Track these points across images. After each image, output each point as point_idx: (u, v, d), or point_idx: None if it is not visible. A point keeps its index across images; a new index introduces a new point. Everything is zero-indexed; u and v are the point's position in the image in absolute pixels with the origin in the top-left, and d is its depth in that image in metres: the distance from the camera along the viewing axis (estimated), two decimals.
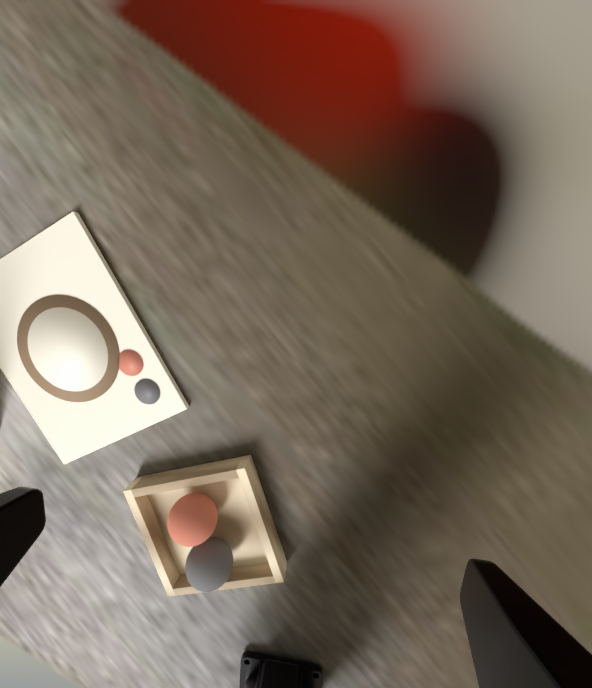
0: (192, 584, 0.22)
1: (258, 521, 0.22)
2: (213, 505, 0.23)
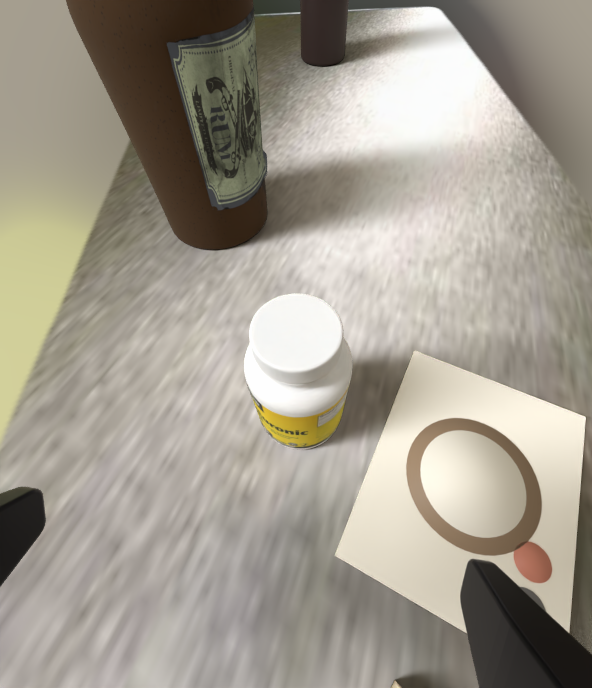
0: None
1: None
2: None
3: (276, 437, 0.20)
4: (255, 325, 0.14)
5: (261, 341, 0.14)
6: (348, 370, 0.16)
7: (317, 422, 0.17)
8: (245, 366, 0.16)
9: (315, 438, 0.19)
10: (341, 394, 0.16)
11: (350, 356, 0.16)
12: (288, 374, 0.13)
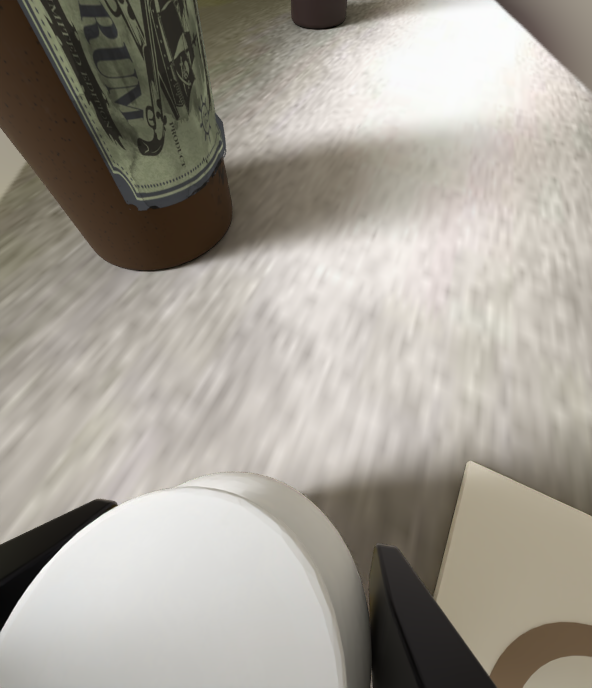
0: None
1: None
2: None
3: None
4: (6, 655, 0.04)
5: None
6: None
7: None
8: None
9: None
10: None
11: (366, 630, 0.06)
12: None
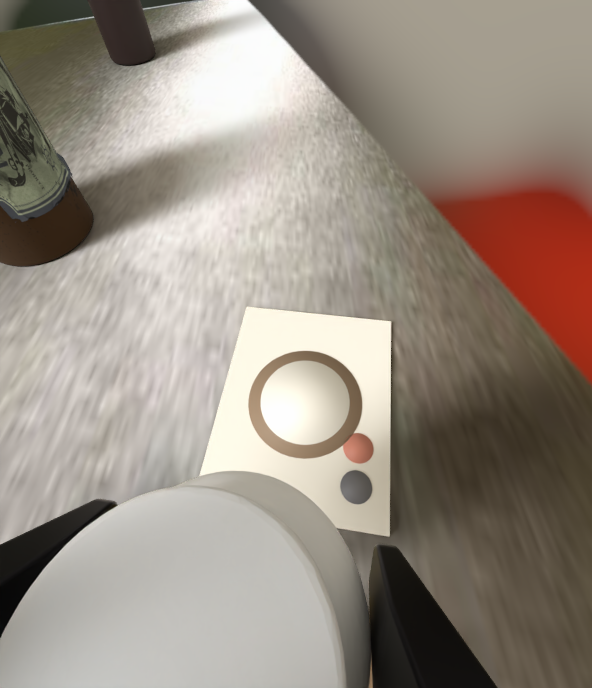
0: None
1: None
2: None
3: None
4: (11, 651, 0.04)
5: None
6: None
7: None
8: None
9: None
10: None
11: (365, 627, 0.06)
12: None
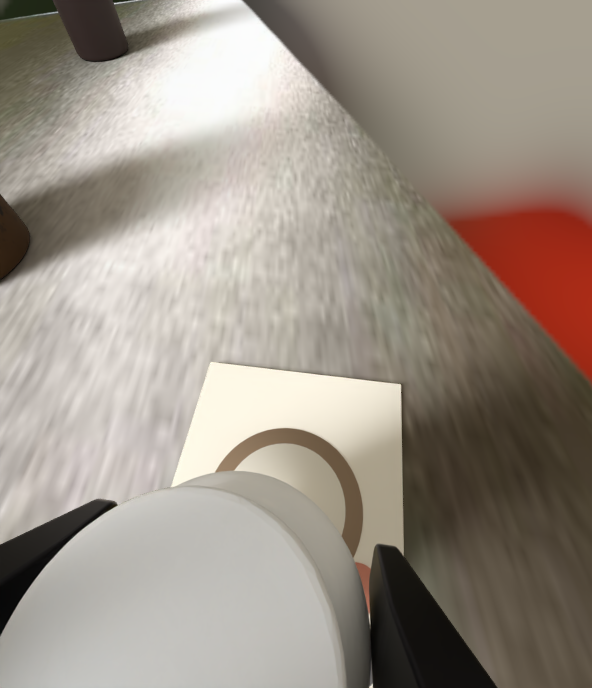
0: None
1: None
2: None
3: None
4: (10, 653, 0.04)
5: None
6: None
7: None
8: None
9: None
10: None
11: (365, 627, 0.06)
12: None
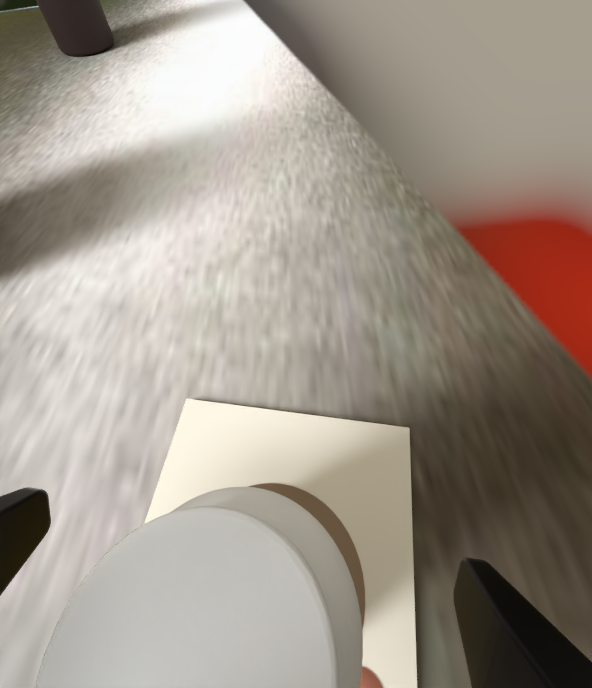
0: None
1: None
2: None
3: None
4: (62, 647, 0.05)
5: None
6: (354, 685, 0.06)
7: None
8: None
9: None
10: None
11: (357, 628, 0.06)
12: None
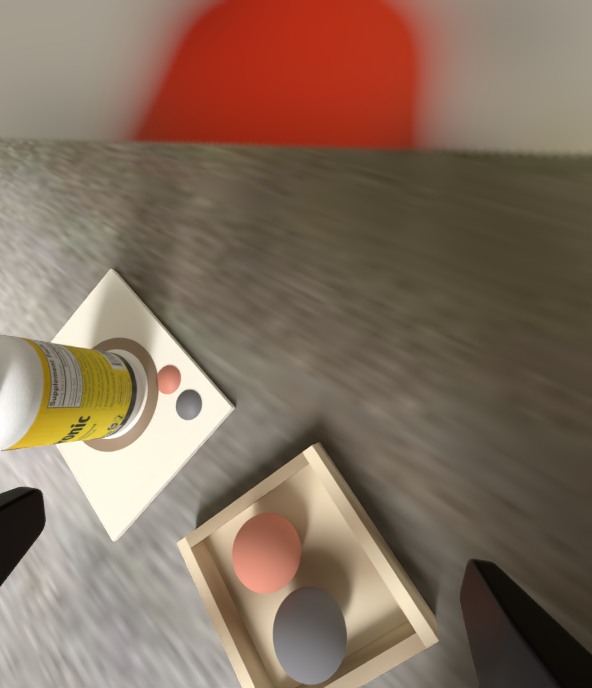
0: (287, 665, 0.13)
1: (356, 526, 0.15)
2: (289, 522, 0.16)
3: (97, 436, 0.20)
4: None
5: None
6: (16, 356, 0.15)
7: (66, 407, 0.16)
8: None
9: (111, 407, 0.19)
10: (34, 377, 0.15)
11: (11, 344, 0.15)
12: None
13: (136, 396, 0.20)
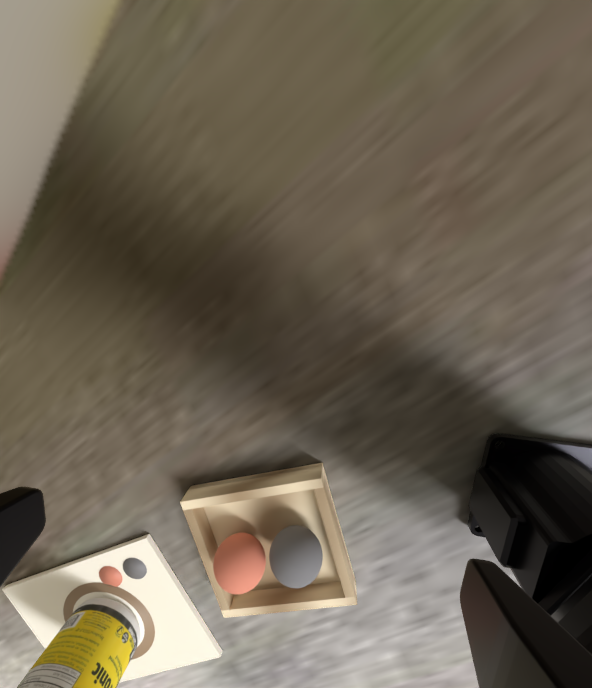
0: (297, 586, 0.19)
1: (241, 496, 0.20)
2: (229, 537, 0.21)
3: (129, 651, 0.23)
4: None
5: None
6: None
7: (72, 686, 0.20)
8: None
9: (103, 637, 0.22)
10: None
11: None
12: None
13: (111, 608, 0.24)
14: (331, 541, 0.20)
